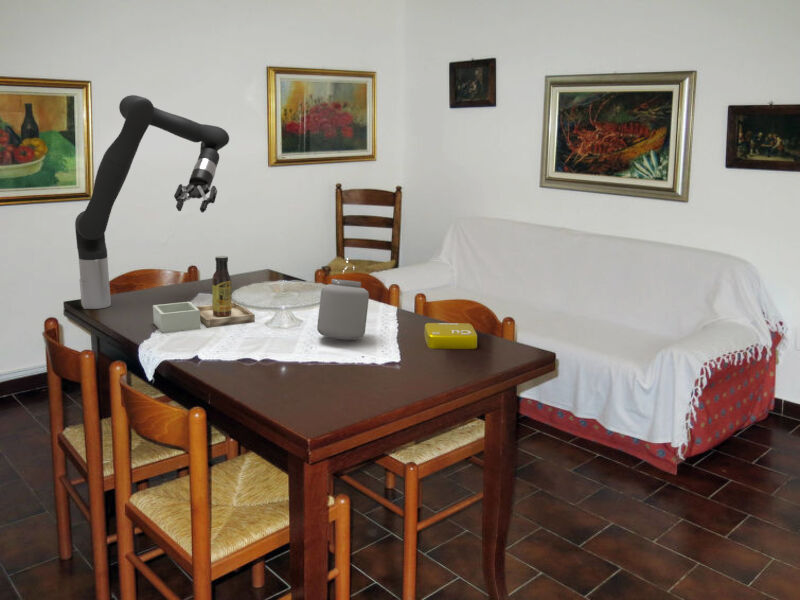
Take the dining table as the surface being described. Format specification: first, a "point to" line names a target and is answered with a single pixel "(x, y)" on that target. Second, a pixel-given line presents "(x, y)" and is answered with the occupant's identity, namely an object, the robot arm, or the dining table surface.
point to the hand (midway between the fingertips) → (190, 210)
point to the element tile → (450, 336)
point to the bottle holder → (176, 317)
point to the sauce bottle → (221, 288)
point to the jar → (343, 310)
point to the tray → (235, 317)
